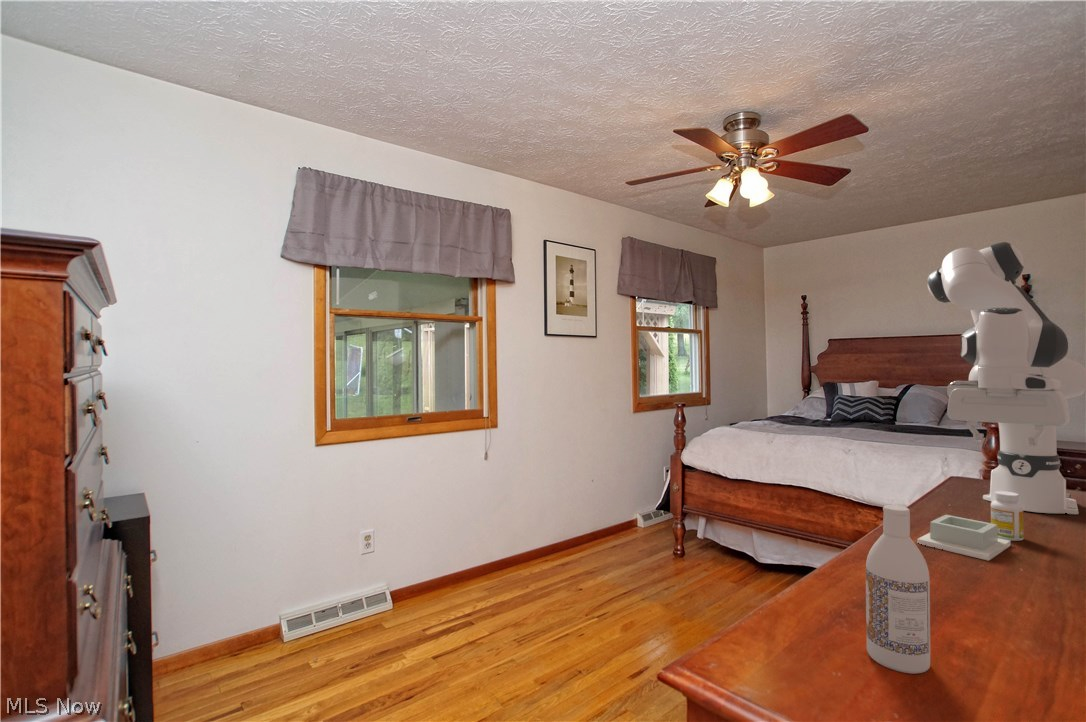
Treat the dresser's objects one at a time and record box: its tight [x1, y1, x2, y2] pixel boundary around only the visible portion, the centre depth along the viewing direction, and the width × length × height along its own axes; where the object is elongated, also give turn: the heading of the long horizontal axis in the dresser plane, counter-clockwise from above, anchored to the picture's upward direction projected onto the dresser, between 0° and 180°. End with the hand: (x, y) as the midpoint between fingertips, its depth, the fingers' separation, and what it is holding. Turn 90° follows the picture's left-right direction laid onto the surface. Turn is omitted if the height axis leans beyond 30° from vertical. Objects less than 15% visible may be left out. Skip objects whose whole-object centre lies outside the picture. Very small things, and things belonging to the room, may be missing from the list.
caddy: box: [916, 514, 1012, 561], centre depth 111 cm, size 14×12×4 cm
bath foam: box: [865, 504, 931, 675], centre depth 69 cm, size 7×7×20 cm
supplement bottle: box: [990, 491, 1025, 542], centre depth 116 cm, size 5×5×10 cm
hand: (1005, 443), depth 116 cm, fingers open, 8 cm apart
